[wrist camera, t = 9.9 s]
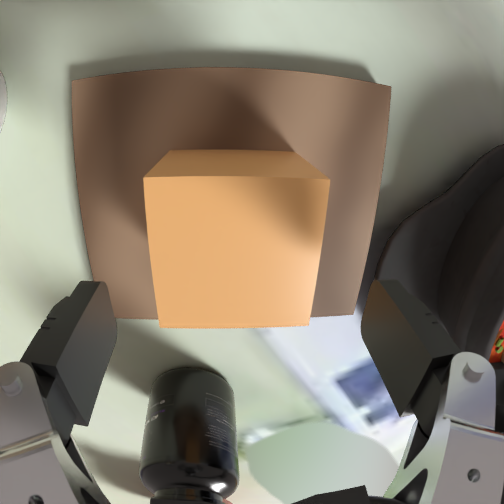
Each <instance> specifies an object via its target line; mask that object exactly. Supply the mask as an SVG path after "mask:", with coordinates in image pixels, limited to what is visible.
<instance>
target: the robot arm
mask: <svg viewBox="0 0 504 504" xmlns="http://www.w3.org/2000/svg"><path fill="white" fill-rule="evenodd" d="M361 335H362V339H363V341H364V343H365V345H366V347H367V349H368V351H369V353H370V355H371V357H372V359H373V361H374V363H375V365H376V367H377V369H378V371H379V373H380V375H381V377H382V380H383V382H384V384H385V386H386V388H387V390H388V392H389V394H390V397H391V399H392V401H393V403H394V405H395V407H396V410H397V412H398V414H399V416H400V417H404V416H408V415H412V414H415V416H416V418H417V420H416V421H415V423H414V425H413V427H412V430H411V434H410V437H409V440H408V443H407V446H406V449H405V452H404V455H403V458H402V460H401V463H400V466H399V469H398V471H397V474H396V476H395V478H394V480H393V481H392V483H391V485H390V486H389V488H388V489H387V491H386V492H385V494H384V496H383V497H378V496H368V494H367V491H366V487H365V485H363V486H359V487H355V488H350V489H345V490H340V491H335V492H329V493H323V494H317V495H314V496H311V497H309V498H307V499H303V500H301V501H298V502H295V503H292V504H500V503H501V504H504V370H500V369H493V367H492V365H491V364H490V363H489V362H488V361H487V360H486V359H485V358H483V357H482V356H480V355H478V354H475V353H472V352H461V350H460V349H459V348H458V346H457V345H456V344H455V342H454V341H453V340H452V338H451V337H450V336H449V334H448V333H447V332H446V330H445V329H444V328H443V327H442V325H441V324H439V323H438V320H437V319H436V318H435V316H434V315H432V313H431V311H430V310H429V309H428V308H427V306H426V305H425V304H424V303H423V302H422V301H420V300H419V299H418V298H416V297H415V296H413V295H412V294H409V293H408V292H407V290H406V289H405V288H404V287H403V285H402V284H401V283H400V282H399V281H398V280H397V279H389V280H374V281H373V282H372V284H371V286H370V289H369V293H368V297H367V301H366V305H365V309H364V313H363V316H362V320H361ZM116 338H117V325H116V320H115V316H114V312H113V308H112V304H111V300H110V295H109V291H108V287H107V285H106V283H105V282H103V281H81V282H79V284H78V285H77V287H76V288H75V290H74V291H73V293H72V294H71V296H70V297H65V298H64V299H62V300H61V301H60V302H59V303H57V304H56V305H55V306H54V307H53V308H52V310H51V311H50V313H49V314H48V316H47V320H45V321H44V322H43V324H42V325H41V329H39V330H38V332H37V333H36V335H35V336H34V338H33V340H32V341H31V343H30V345H29V346H28V348H27V350H26V351H25V353H24V355H23V356H22V358H21V360H20V362H10V363H7V364H5V365H3V366H1V367H0V504H111V503H110V502H109V501H108V499H107V498H106V497H105V495H104V494H103V493H102V491H101V490H100V488H99V486H98V485H97V483H96V481H95V479H94V477H93V476H92V474H91V472H90V470H89V468H88V466H87V464H86V462H85V460H84V458H83V456H82V454H81V452H80V450H79V448H78V446H77V444H76V442H75V439H74V437H73V436H72V434H71V431H72V428H73V425H74V424H77V425H83V426H88V425H89V421H90V418H91V415H92V411H93V408H94V405H95V402H96V398H97V395H98V392H99V389H100V386H101V383H102V380H103V377H104V374H105V371H106V368H107V365H108V363H109V360H110V357H111V354H112V351H113V349H114V346H115V343H116ZM150 504H211V503H207V502H196V501H178V500H165V499H155V498H151V500H150Z"/></svg>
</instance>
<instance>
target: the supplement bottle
mask: <svg viewBox="0 0 504 504" xmlns="http://www.w3.org/2000/svg"><path fill="white" fill-rule="evenodd" d="M139 476H140V479H141V481H142V483H143V485H144V486H145V487H146V488H147V489H148V490H149V491H150V492H152V493H153V494H155V496H154V497H152V498H155V499H165V500H178V501H196V502H207V503H211V504H225V503H224V502H222V500H224V499H226V498H227V497H229V496H230V495H232V494H233V493H234V492H235V490H236V489H237V487H238V485H239V465H238V449H237V434H236V417H235V402H234V394H233V390H232V388H231V387H230V385H229V384H228V383H227V382H226V381H225V380H224V379H223V378H221V377H220V376H218V375H216V374H214V373H212V372H209V371H206V370H202V369H196V368H179V369H174V370H170V371H168V372H165V373H164V374H162V375H160V376H159V377H158V378H157V379H156V380H155V381H154V383H153V385H152V388H151V393H150V398H149V404H148V410H147V416H146V422H145V429H144V436H143V443H142V450H141V457H140V465H139ZM150 500H151V499H150Z"/></svg>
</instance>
